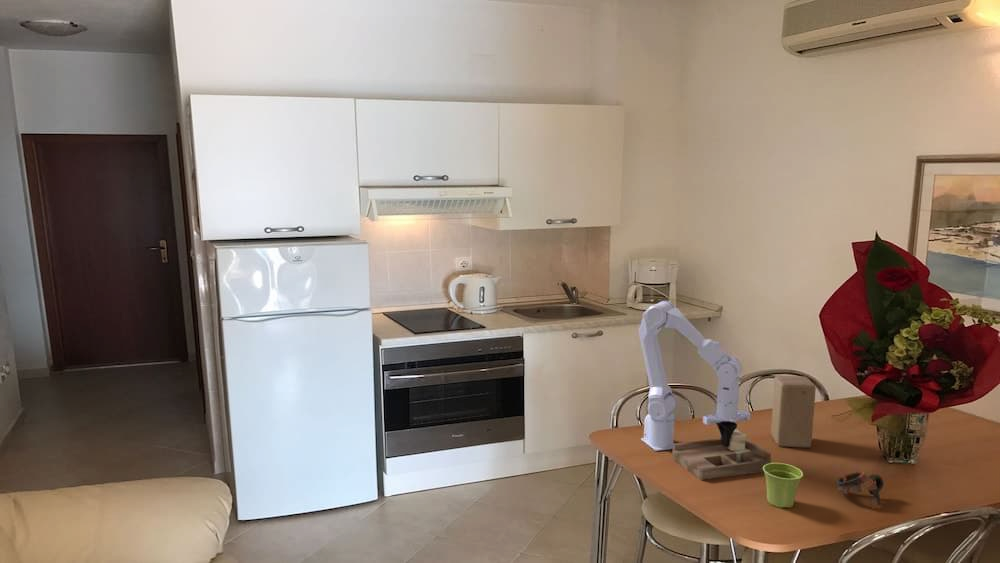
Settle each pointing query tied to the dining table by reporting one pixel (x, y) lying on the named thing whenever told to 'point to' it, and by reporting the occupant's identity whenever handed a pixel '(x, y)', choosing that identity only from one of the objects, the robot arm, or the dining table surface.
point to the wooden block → (793, 411)
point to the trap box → (719, 458)
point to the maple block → (737, 441)
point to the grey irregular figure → (869, 482)
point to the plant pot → (782, 483)
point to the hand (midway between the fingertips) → (725, 445)
